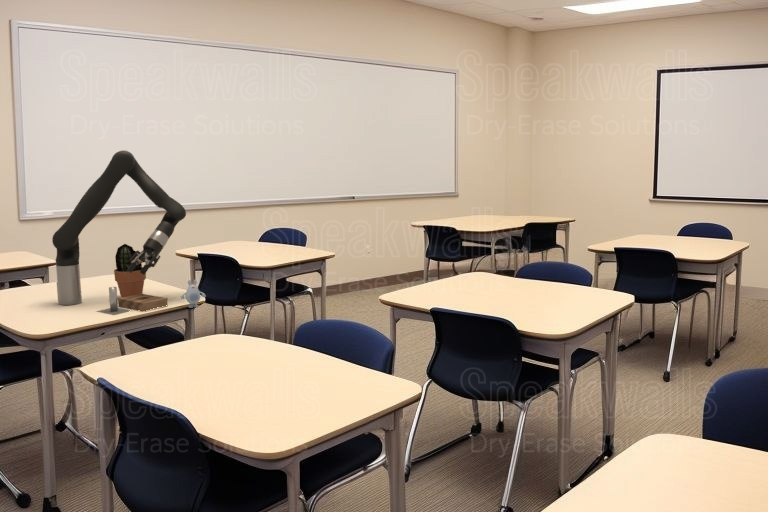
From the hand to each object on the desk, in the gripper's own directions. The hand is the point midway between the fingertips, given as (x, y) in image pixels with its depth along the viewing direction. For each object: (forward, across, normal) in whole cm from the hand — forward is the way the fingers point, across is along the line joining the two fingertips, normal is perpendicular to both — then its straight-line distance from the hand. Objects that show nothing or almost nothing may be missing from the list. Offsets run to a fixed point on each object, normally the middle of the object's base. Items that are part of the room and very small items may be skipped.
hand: (135, 272), depth 293 cm
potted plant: (+3, -18, +18) cm, 26 cm away
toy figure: (+2, +21, +20) cm, 29 cm away
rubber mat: (+19, 0, +2) cm, 19 cm away
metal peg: (+18, 0, +2) cm, 19 cm away
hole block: (+10, +3, +11) cm, 15 cm away
